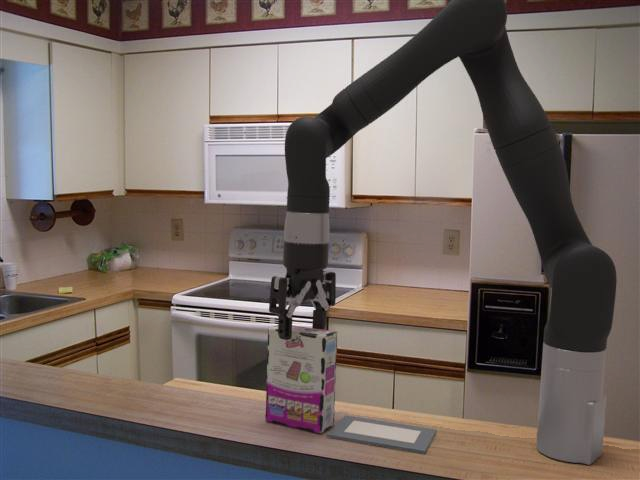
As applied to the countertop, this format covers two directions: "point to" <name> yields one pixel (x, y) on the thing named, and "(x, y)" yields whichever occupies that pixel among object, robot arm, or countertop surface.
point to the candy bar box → (301, 379)
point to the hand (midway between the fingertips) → (302, 335)
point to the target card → (383, 434)
